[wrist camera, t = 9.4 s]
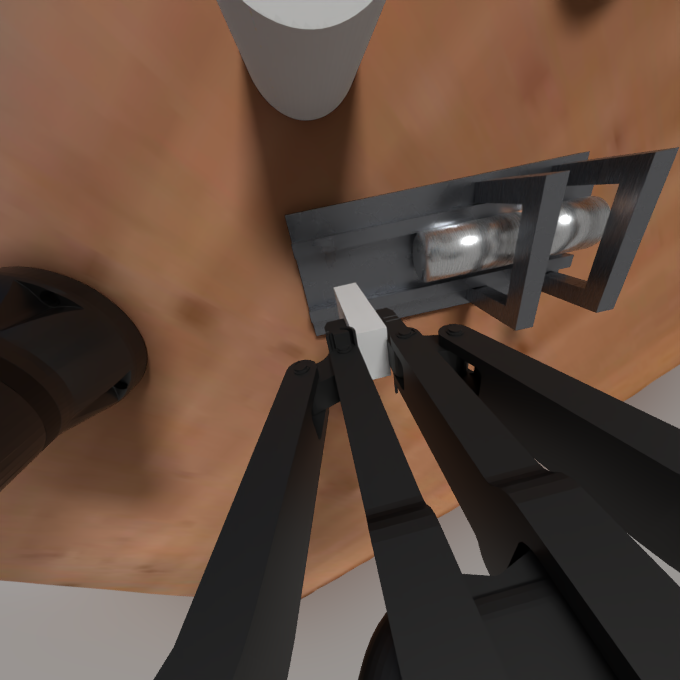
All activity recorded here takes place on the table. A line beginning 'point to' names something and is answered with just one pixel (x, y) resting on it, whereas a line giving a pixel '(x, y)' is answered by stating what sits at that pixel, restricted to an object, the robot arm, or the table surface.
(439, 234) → the tube
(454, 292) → the collar rail
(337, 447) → the table surface
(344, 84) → the white cylinder
